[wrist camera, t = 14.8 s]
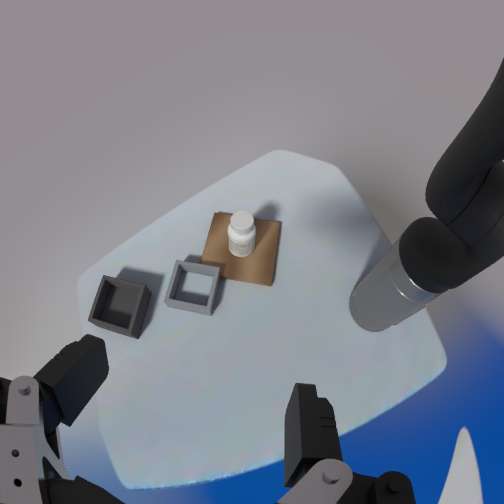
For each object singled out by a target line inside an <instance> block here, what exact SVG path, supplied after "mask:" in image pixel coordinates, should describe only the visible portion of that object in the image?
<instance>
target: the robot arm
mask: <svg viewBox="0 0 504 504" xmlns="http://www.w3.org/2000/svg"><path fill="white" fill-rule="evenodd" d="M502 160H504V58H503V61H502V63H501V65H500V68H499V70H498V72H497V74H496V77H495V79H494V81H493V83H492V84H491V87H490V88H489V90H488V91H487V93H486V95H485V96H484V98H483V100H482V101H481V103H480V104H479V106H478V107H477V109H476V110H475V112H474V113H473V114H472V116H471V117H470V119H469V120H468V122H467V123H466V125H465V126H464V127H463V129H462V130H461V131H460V133H459V134H458V135H457V137H456V138H455V139H454V141H453V142H452V143H451V144H450V146H449V147H448V149H447V150H446V151H445V153H444V154H443V155H442V157H441V158H440V160H439V161H438V163H437V164H436V166H435V168H434V170H433V171H432V173H431V176H430V178H429V180H428V183H427V187H426V193H425V194H426V195H425V196H426V202H427V205H428V207H429V208H430V210H431V211H432V213H433V214H434V215H435V216H436V217H437V218H438V219H435V218H431V217H423V218H419V219H417V220H416V221H414V222H413V223H412V224H411V225H409V227H408V228H407V229H406V230H405V232H404V233H403V234H402V235H401V236H400V238H399V239H398V240H397V241H396V242H395V244H394V245H393V246H392V247H391V248H390V250H389V251H388V252H387V253H386V254H385V255H384V257H383V258H382V259H381V260H380V261H379V262H378V263H377V264H376V266H375V267H374V268H373V269H372V270H371V271H370V272H369V273H368V274H367V276H366V277H365V278H364V279H363V280H362V281H361V282H360V283H359V284H358V285H357V286H356V287H355V288H354V290H353V292H352V293H351V296H350V302H349V305H350V311H351V314H352V316H353V318H354V320H355V321H356V323H357V324H358V325H359V326H361V327H362V328H364V329H365V330H368V331H371V332H378V331H382V330H384V329H386V328H388V327H390V326H392V325H396V324H398V323H400V322H402V321H403V320H405V319H407V318H408V317H410V316H412V315H413V314H415V313H417V312H418V311H420V310H421V309H423V308H424V307H425V305H426V304H428V303H429V302H430V301H432V300H434V299H435V298H436V297H438V296H439V295H441V294H442V293H444V292H445V291H447V290H448V289H453V288H456V287H458V286H460V285H461V284H463V283H464V282H466V281H467V280H469V279H470V278H472V277H473V276H475V275H477V274H478V273H480V272H481V271H483V270H484V269H486V268H487V267H489V266H491V265H492V264H494V263H495V262H496V261H497V260H499V259H500V258H501V257H503V256H504V162H503V161H502ZM108 371H109V365H108V359H107V353H106V347H105V342H104V340H103V339H101V338H98V337H95V336H93V335H90V334H86V335H85V336H84V337H83V338H82V339H81V340H80V341H78V342H77V341H75V342H73V343H71V344H69V345H66V346H65V347H64V348H63V349H62V350H61V351H60V352H59V354H57V355H55V356H54V359H51V360H50V361H49V362H48V363H47V364H46V365H45V366H44V367H43V368H42V369H41V370H40V371H39V372H38V373H37V374H36V375H35V376H34V377H30V376H20V377H17V378H16V379H14V380H13V381H11V380H8V379H5V378H1V377H0V504H125V503H123V502H121V501H120V500H119V499H117V498H116V497H114V496H113V495H112V494H110V493H109V492H107V491H106V490H105V489H103V488H101V487H99V486H97V485H95V484H93V483H91V482H89V481H87V480H85V479H83V478H81V477H79V476H76V478H75V479H74V480H70V477H69V474H68V472H67V470H66V468H65V465H64V460H63V455H62V448H61V441H60V433H59V428H58V425H59V424H60V422H62V423H64V424H65V425H67V426H69V427H70V426H71V425H72V423H73V422H74V421H75V419H76V418H77V417H78V415H79V414H80V413H81V411H82V410H83V408H84V407H85V406H86V404H87V403H88V402H89V400H90V399H91V398H92V396H93V395H94V394H95V393H96V391H97V390H98V389H99V387H100V386H101V385H102V383H103V382H104V381H105V379H106V378H107V375H108ZM284 463H285V464H284V487H290V488H292V489H291V490H290V491H289V492H288V493H287V494H285V495H284V496H283V497H282V498H281V499H280V500H279V501H278V502H277V503H275V504H416V502H415V497H414V493H413V488H412V484H411V481H410V480H409V478H408V477H407V476H406V475H404V474H402V473H400V472H396V471H390V472H386V473H384V474H382V475H381V476H380V477H379V478H376V477H370V476H365V475H360V474H357V473H355V472H353V471H351V469H350V467H349V466H348V465H347V464H345V463H344V462H343V459H342V455H341V449H340V443H339V437H338V432H337V428H336V421H335V415H334V410H333V407H332V405H331V404H330V403H329V401H328V400H327V398H319V397H317V391H316V386H315V385H314V384H304V383H296V384H295V386H294V389H293V392H292V395H291V398H290V401H289V403H288V406H287V409H286V414H285V456H284Z"/></svg>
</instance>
